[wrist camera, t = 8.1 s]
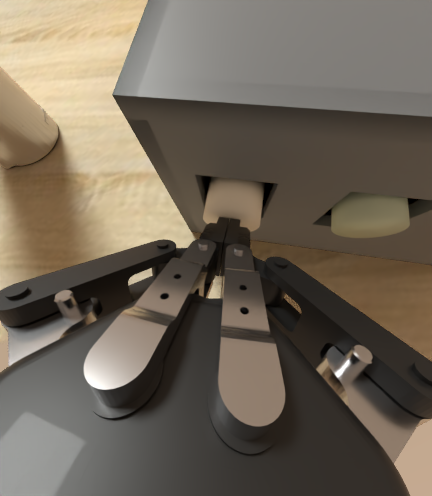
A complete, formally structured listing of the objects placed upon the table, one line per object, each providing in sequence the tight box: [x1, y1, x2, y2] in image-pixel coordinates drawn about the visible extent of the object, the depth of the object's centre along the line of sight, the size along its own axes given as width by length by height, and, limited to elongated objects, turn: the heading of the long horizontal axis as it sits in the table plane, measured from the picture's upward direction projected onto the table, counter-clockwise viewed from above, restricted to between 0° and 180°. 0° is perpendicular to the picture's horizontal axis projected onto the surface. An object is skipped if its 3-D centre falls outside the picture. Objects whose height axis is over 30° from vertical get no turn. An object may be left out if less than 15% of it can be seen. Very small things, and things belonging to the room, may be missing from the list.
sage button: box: [331, 192, 410, 238], centre depth 13 cm, size 7×4×4 cm, turn 170°
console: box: [112, 0, 432, 265], centre depth 15 cm, size 10×28×16 cm, turn 80°
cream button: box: [203, 176, 265, 232], centre depth 14 cm, size 7×4×4 cm, turn 170°
